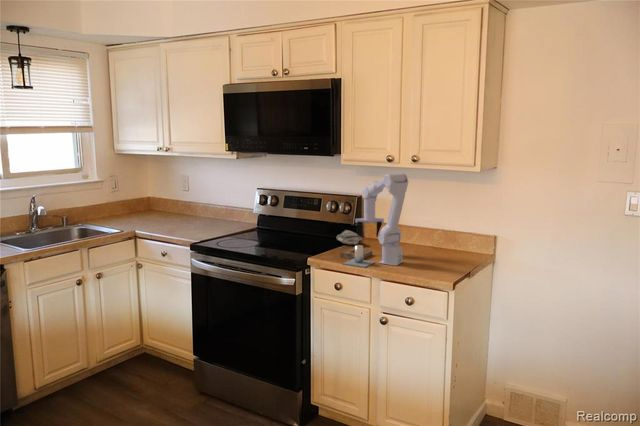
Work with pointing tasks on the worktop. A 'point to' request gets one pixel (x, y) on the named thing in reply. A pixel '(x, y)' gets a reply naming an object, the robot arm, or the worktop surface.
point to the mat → (364, 264)
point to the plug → (358, 254)
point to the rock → (349, 238)
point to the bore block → (351, 253)
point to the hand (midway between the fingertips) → (369, 236)
